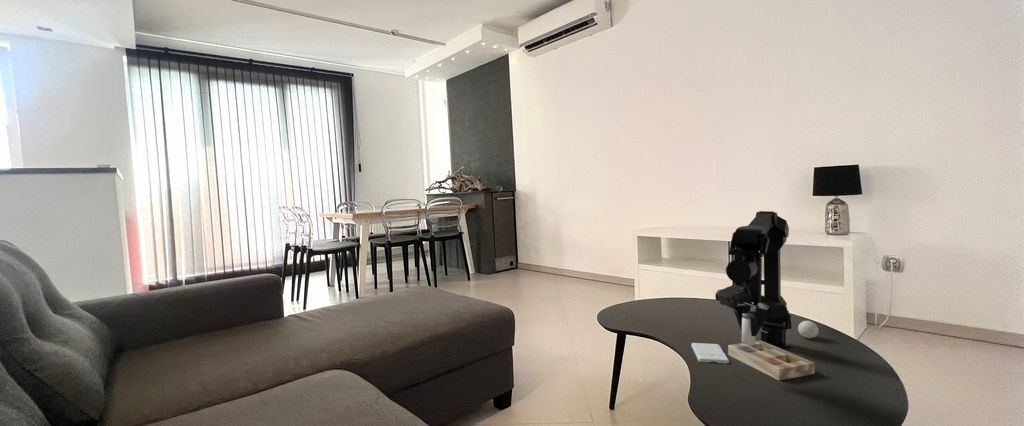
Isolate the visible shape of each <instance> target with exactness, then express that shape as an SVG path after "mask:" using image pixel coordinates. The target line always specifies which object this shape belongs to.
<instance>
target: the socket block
mask: <svg viewBox="0 0 1024 426" xmlns="http://www.w3.org/2000/svg"><path fill="white" fill-rule="evenodd" d="M759 340H760V341H758V340H755V345H752V346H751V345H745V344H743V343H742V342H741V343H733V344H728V350H727V352H728V356H729V357H731V358H734V359H735V360H737V361H739V362H741V363H743V364H746V365H748V366H749V367H752V368H754V369H755V370H758V371H759V372H761V373H763V374H765V375H768V376H770V377H771V378H774V379H775V380H777V381H782V380H788V379H794V378H799V377H804V376H805V377H806V376H812V375H814V374H816V371H815V370H816V362H813V361H811V360H808V359H806V358H803V357H801V356H799V355H797V354H794V353H792V352H790V351H787V350H785V349H783V348H778V347H775V346H773V345H771V344H768V343H766V342H763V341H761V339H759Z"/></svg>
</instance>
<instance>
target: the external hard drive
mask: <svg viewBox="0 0 1024 426" xmlns="http://www.w3.org/2000/svg"><path fill="white" fill-rule="evenodd" d="M691 349H692V350H693V352H694V355H695V357H696V358H697V361H698V363H710V362H712V363H713V362H715V363H716V364H727V363H729V364H730V360H729V358H728V357H727V355H726V354H725V352H724V351H723V349H722V347H721V346H720V344H717V343H705V342H703V343H701V342H692V343H691ZM715 363H714V364H715Z"/></svg>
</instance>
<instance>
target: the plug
mask: <svg viewBox="0 0 1024 426" xmlns="http://www.w3.org/2000/svg"><path fill="white" fill-rule="evenodd" d="M755 341H756V336H752V334H751V318H750V316H749V315H748V314H747V312H742V331H741V343H743V344H745V345H751V346H752V345H755Z"/></svg>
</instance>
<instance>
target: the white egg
mask: <svg viewBox="0 0 1024 426" xmlns="http://www.w3.org/2000/svg"><path fill="white" fill-rule="evenodd" d="M797 331H798V332H799V334H800V336H802V337H804V338H805V339H813V338H816V337H817V336H818V334H819V332H820V330H819V327H818V326H817V324H816V323H814V322H812V320H811V321H810V320H802V321H801V322H800V323H799V324H798V327H797Z"/></svg>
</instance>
